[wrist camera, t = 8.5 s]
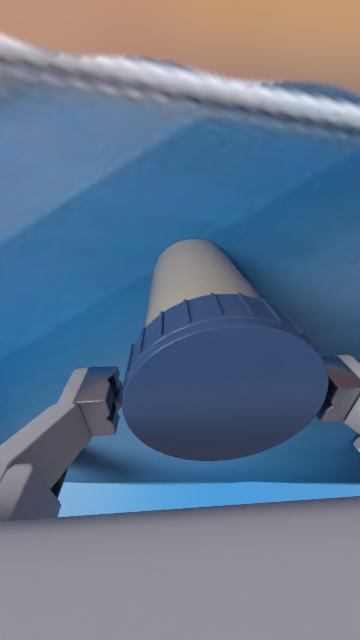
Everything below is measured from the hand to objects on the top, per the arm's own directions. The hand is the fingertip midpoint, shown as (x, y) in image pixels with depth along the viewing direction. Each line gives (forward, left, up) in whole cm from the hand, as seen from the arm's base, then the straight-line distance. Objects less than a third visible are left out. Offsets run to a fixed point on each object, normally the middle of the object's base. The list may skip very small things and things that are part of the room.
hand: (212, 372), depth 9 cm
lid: (0, 0, +1) cm, 1 cm away
